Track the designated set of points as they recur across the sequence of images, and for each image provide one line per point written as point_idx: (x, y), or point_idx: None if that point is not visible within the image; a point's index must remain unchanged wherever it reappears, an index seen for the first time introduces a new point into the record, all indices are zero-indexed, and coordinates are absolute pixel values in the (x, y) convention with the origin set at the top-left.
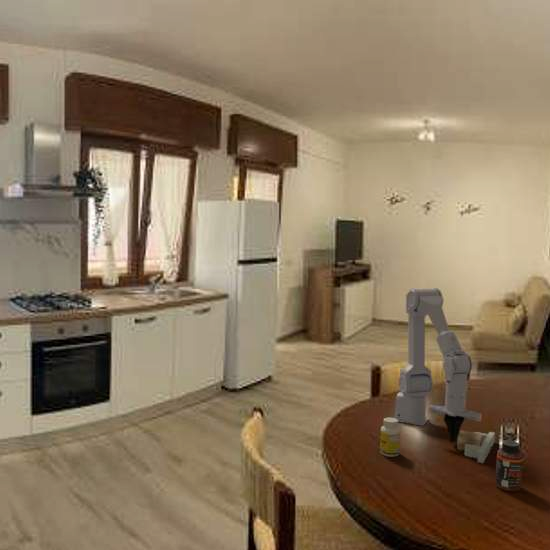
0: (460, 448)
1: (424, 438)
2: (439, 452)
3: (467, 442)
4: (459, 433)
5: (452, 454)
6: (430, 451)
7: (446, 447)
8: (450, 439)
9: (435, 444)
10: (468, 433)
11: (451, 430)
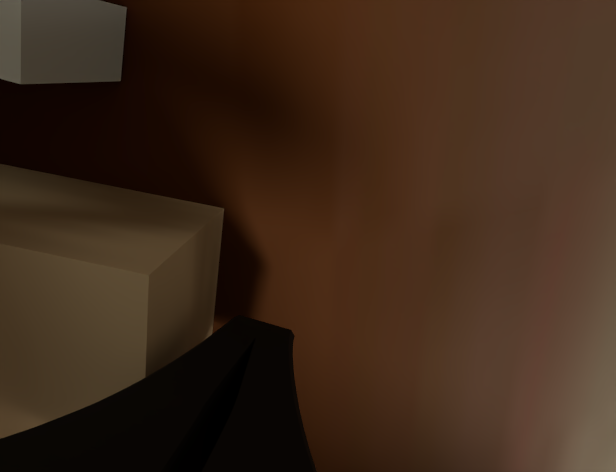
0: (179, 206)
1: (591, 455)
2: (456, 29)
3: (41, 220)
4: None
5: (277, 12)
6: (594, 24)
7: (348, 245)
8: (289, 339)
9: (479, 307)
10: None
11: (242, 419)
